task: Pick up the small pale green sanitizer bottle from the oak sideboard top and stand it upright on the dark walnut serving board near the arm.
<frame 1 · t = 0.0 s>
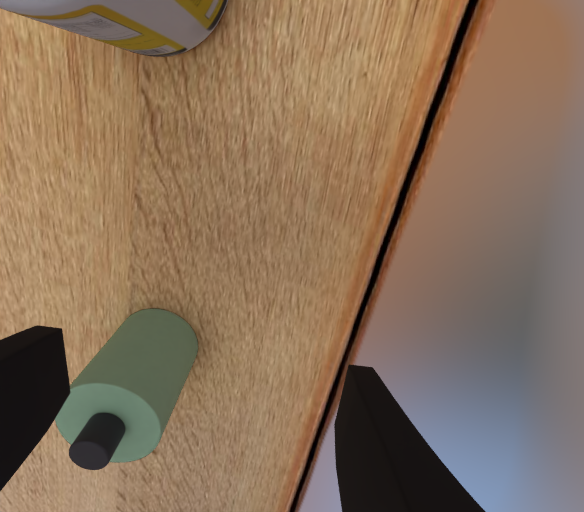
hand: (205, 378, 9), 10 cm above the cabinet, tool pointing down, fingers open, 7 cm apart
sanitizer bottle: (159, 342, 21), on the cabinet
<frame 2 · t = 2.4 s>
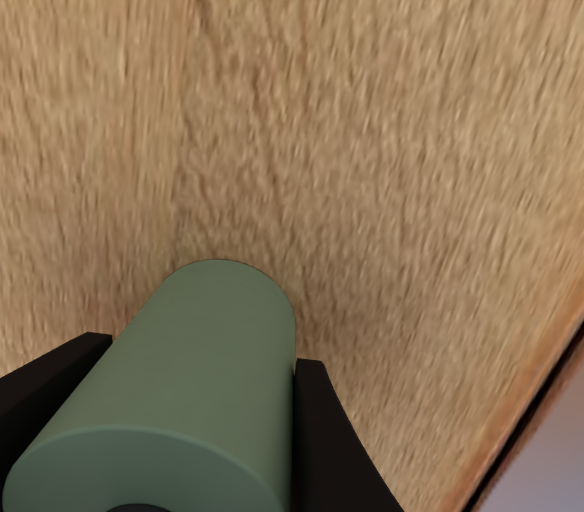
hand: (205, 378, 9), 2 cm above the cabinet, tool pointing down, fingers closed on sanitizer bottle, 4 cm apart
sanitizer bottle: (223, 325, 11), on the cabinet, touching gripper
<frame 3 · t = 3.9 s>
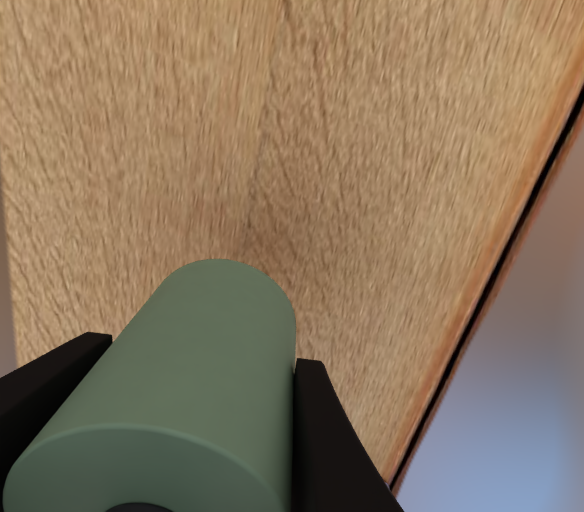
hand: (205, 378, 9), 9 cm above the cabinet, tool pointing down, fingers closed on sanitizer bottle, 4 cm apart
sanitizer bottle: (223, 324, 11), point 7 cm above the cabinet, touching gripper
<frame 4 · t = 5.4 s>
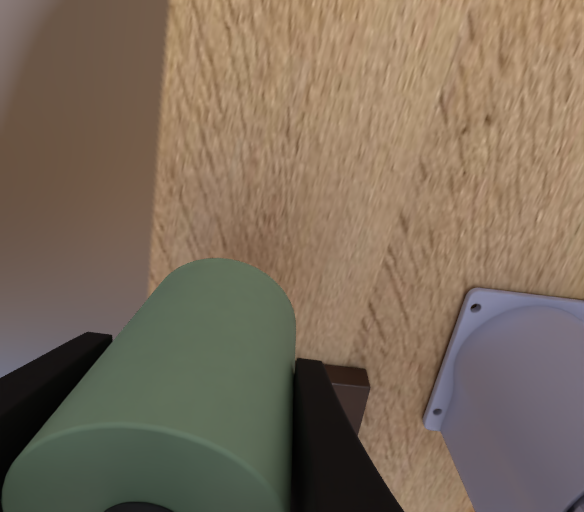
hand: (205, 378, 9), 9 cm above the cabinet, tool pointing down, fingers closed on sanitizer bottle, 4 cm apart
sanitizer bottle: (223, 324, 11), point 7 cm above the cabinet, touching gripper
walnut board: (274, 479, 24), on the cabinet
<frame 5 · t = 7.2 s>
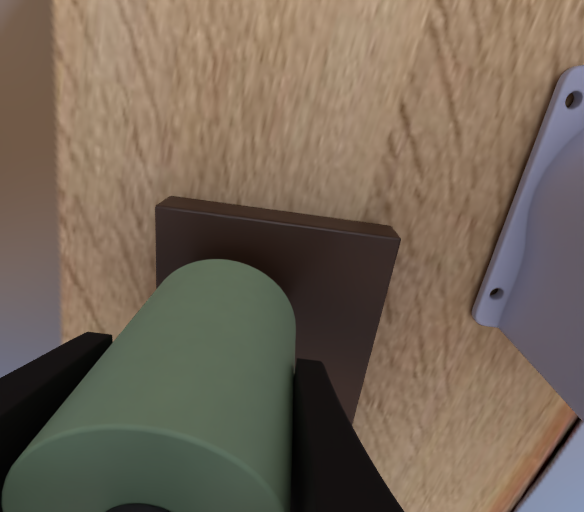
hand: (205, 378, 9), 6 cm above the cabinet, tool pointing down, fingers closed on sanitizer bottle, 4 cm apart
sanitizer bottle: (223, 325, 11), point 4 cm above the cabinet, touching gripper
walnut board: (256, 409, 17), on the cabinet
when the fingers open (4 cm above the cabinet, at t = 8.4 s): sanitizer bottle stays where it is, resting on walnut board.
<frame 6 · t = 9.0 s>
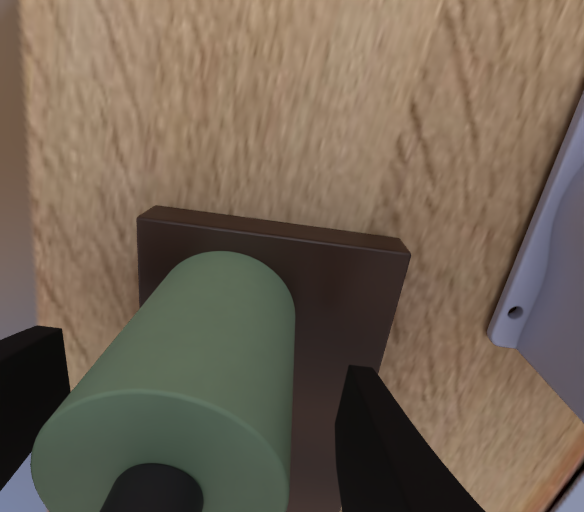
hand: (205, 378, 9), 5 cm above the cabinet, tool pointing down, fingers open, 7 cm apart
sanitizer bottle: (226, 314, 12), point 1 cm above the cabinet, touching walnut board
walnut board: (252, 433, 16), on the cabinet
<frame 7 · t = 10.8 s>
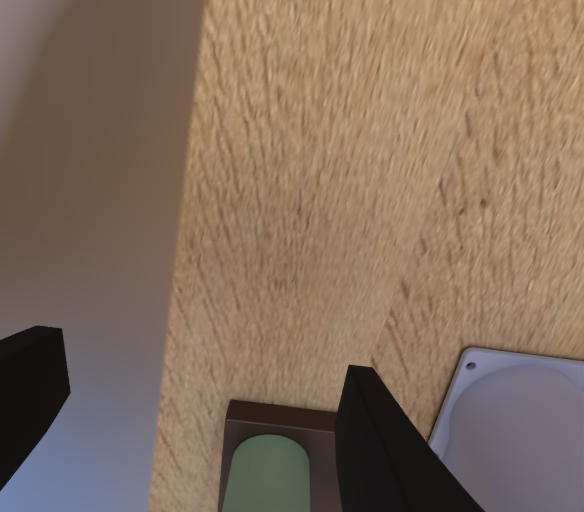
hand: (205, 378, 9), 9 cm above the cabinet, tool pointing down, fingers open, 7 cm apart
sanitizer bottle: (270, 462, 21), point 1 cm above the cabinet, touching walnut board
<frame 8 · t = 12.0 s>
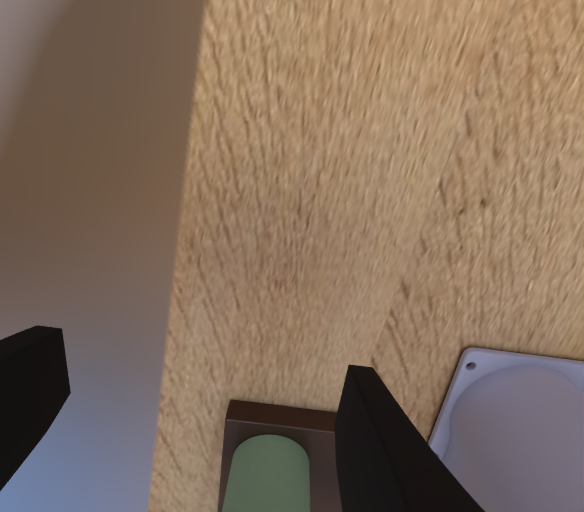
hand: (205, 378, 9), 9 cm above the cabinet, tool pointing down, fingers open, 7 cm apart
sanitizer bottle: (270, 462, 21), point 1 cm above the cabinet, touching walnut board
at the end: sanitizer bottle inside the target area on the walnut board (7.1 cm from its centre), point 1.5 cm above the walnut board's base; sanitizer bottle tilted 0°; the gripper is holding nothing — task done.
